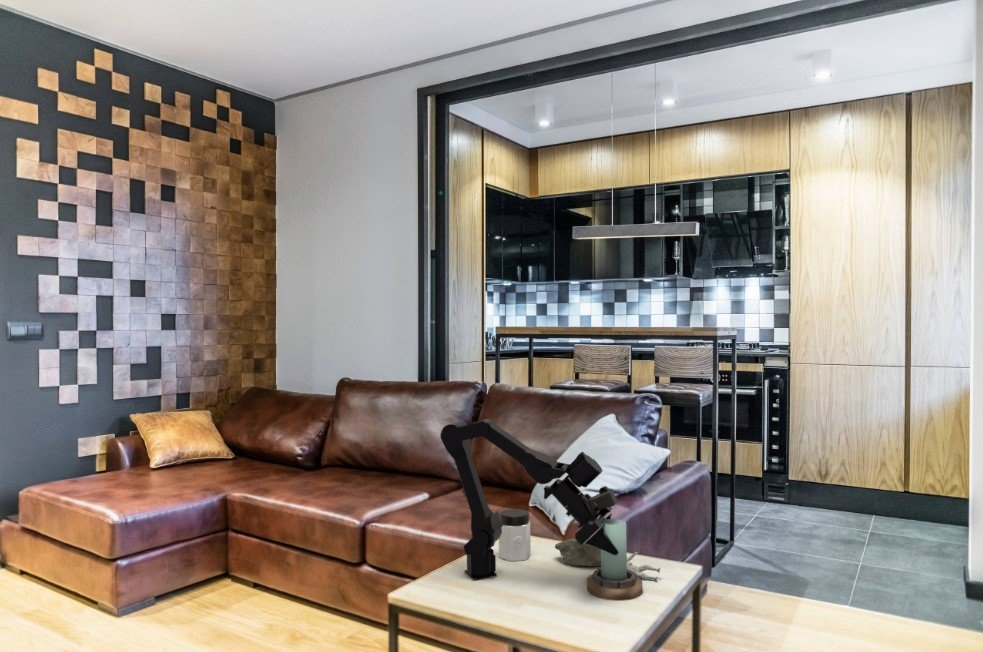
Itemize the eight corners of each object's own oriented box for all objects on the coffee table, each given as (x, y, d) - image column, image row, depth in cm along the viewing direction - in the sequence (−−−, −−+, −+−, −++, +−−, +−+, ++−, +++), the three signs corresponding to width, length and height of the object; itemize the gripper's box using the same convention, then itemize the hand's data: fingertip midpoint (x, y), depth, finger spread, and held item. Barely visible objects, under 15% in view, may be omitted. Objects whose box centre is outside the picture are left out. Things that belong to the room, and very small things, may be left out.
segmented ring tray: (606, 604, 150) (606, 588, 150) (576, 584, 162) (576, 570, 162) (653, 594, 155) (653, 579, 155) (621, 576, 167) (621, 562, 167)
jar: (502, 562, 178) (501, 517, 179) (495, 553, 186) (495, 510, 187) (534, 559, 180) (533, 515, 180) (526, 550, 188) (526, 508, 188)
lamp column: (616, 583, 154) (616, 527, 154) (596, 577, 159) (595, 522, 159) (631, 577, 158) (631, 522, 159) (611, 571, 163) (610, 517, 163)
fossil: (590, 585, 171) (615, 562, 176) (583, 553, 167) (609, 531, 172) (551, 562, 182) (576, 541, 187) (544, 532, 178) (569, 511, 183)
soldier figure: (653, 590, 161) (605, 568, 165) (650, 597, 164) (604, 576, 168) (663, 561, 165) (616, 541, 169) (660, 569, 169) (615, 549, 173)
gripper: (588, 486, 151) (638, 539, 147) (603, 470, 169) (647, 517, 165) (555, 518, 154) (603, 571, 150) (572, 499, 171) (616, 546, 168)
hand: (619, 550), depth 158 cm, fingers closed on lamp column, 6 cm apart
